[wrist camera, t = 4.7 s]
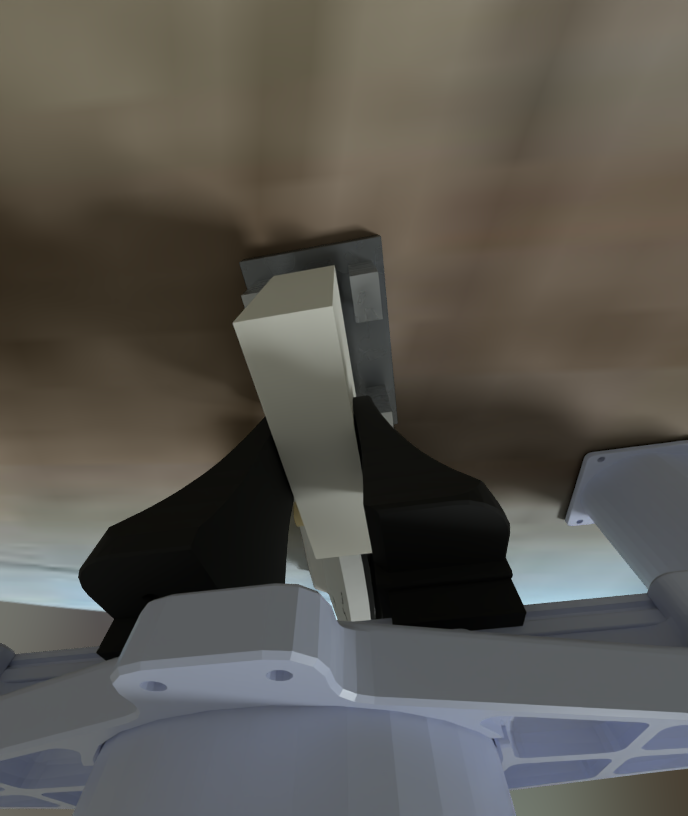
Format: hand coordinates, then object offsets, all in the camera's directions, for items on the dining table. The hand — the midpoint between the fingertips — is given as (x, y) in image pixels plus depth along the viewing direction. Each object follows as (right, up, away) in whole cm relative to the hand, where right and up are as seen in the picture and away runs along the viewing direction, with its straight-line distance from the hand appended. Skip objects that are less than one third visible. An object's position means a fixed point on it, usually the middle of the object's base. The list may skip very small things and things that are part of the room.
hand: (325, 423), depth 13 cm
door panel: (0, +2, +3) cm, 4 cm away
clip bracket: (0, +4, +7) cm, 8 cm away
